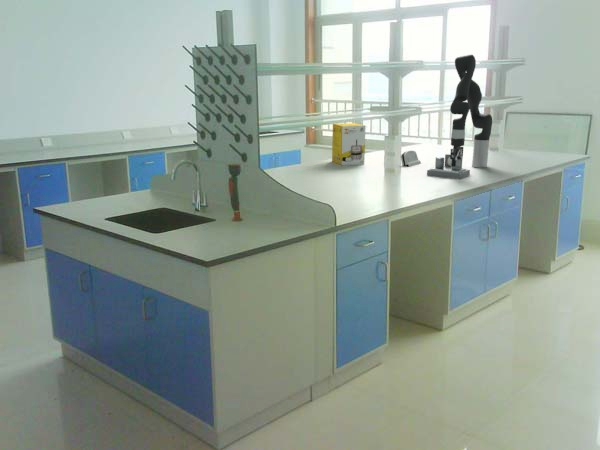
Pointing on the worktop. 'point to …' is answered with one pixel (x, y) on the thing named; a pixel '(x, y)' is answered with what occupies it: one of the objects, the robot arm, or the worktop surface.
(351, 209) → the worktop surface
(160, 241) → the worktop surface
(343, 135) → the packaging box
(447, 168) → the scale
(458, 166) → the cylinder
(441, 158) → the cylinder
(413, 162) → the grey rounded panel
